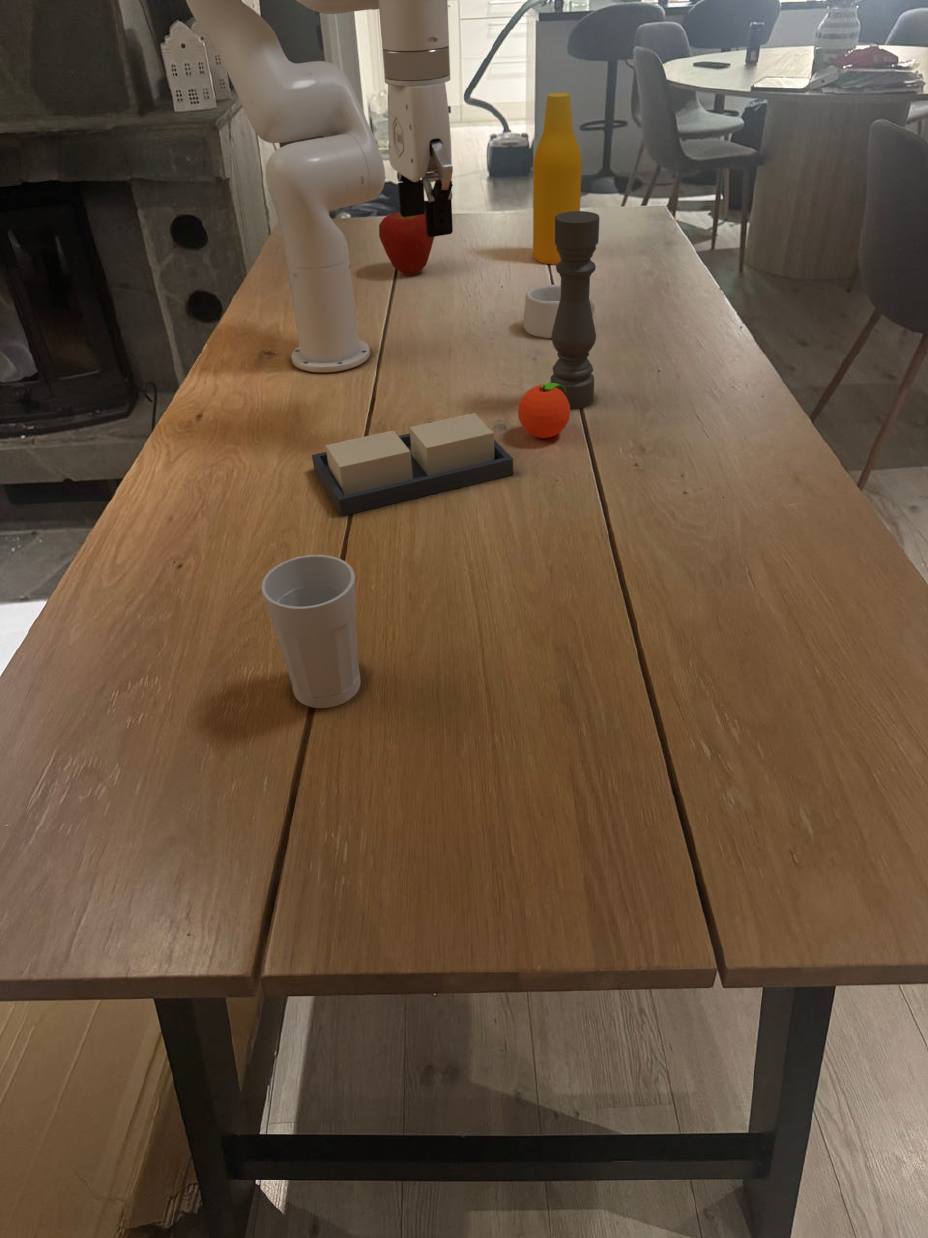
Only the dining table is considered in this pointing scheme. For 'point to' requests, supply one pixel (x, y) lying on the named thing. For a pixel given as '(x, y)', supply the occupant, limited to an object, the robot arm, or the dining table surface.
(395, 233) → the apple
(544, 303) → the mug
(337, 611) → the cup
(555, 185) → the beer bottle
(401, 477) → the block
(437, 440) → the beige rectangular block
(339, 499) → the dark grey flat tray
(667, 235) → the dining table surface
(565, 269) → the candle holder
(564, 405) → the clementine
